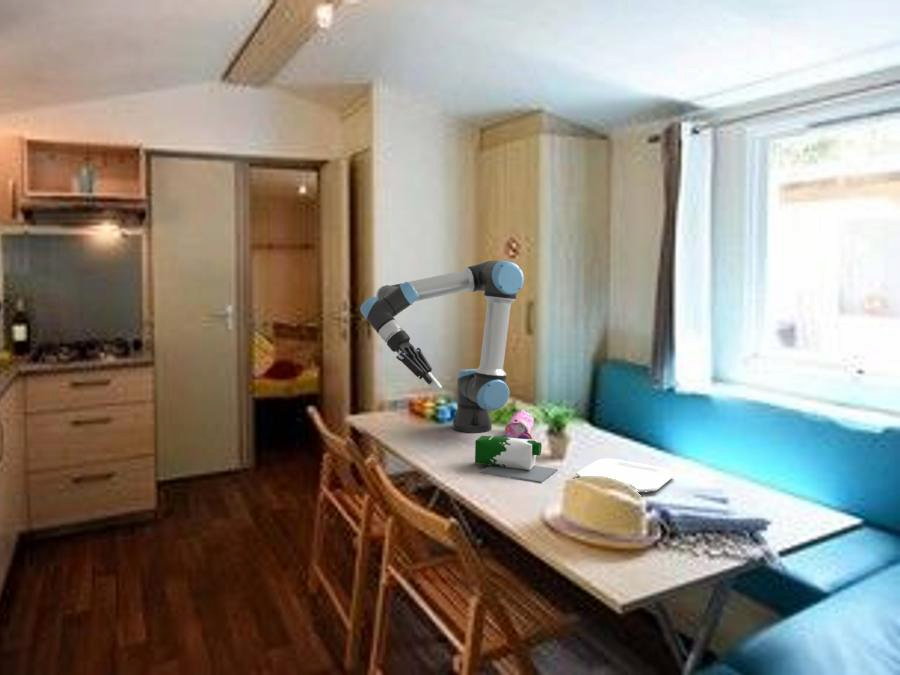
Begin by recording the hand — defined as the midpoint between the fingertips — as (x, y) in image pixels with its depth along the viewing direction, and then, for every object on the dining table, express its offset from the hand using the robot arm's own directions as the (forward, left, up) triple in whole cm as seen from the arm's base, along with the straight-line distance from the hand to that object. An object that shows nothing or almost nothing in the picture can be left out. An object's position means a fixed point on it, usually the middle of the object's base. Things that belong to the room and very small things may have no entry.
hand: (438, 389), depth 231 cm
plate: (-18, +58, -23) cm, 65 cm away
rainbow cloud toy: (-21, +20, -23) cm, 37 cm away
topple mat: (-3, +30, -22) cm, 37 cm away
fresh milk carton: (-1, +15, -17) cm, 23 cm away
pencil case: (-38, +8, -23) cm, 45 cm away
